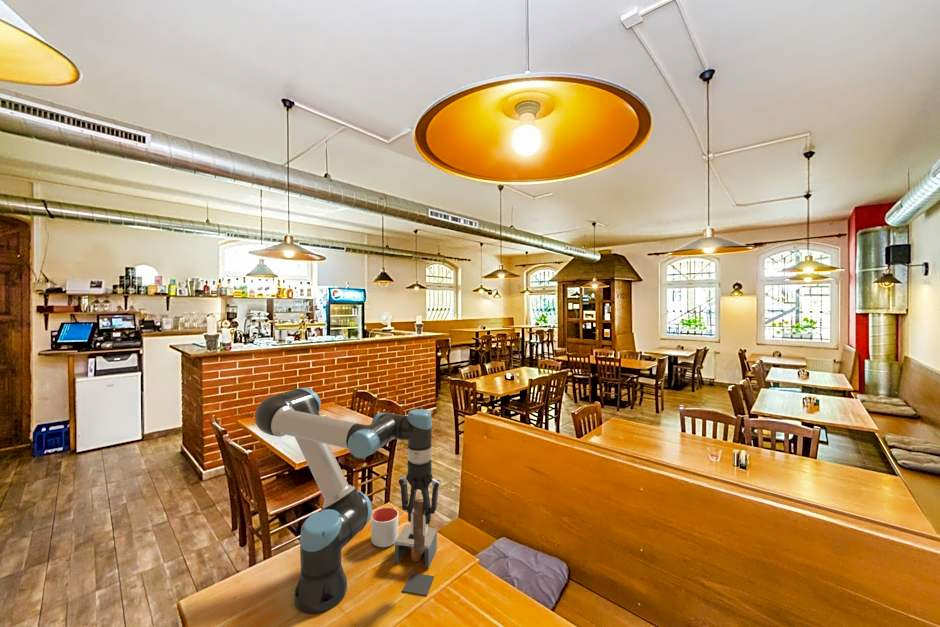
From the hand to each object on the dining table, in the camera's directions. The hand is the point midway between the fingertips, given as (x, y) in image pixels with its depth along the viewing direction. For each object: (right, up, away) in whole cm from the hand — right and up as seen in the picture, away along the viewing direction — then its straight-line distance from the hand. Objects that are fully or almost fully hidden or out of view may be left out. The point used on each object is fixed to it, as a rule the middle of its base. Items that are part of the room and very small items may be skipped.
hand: (419, 532), depth 120 cm
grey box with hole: (-3, -17, +13) cm, 22 cm away
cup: (-16, -16, +22) cm, 32 cm away
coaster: (0, -17, +1) cm, 17 cm away
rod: (0, -6, 0) cm, 6 cm away
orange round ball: (-3, -17, +13) cm, 22 cm away
